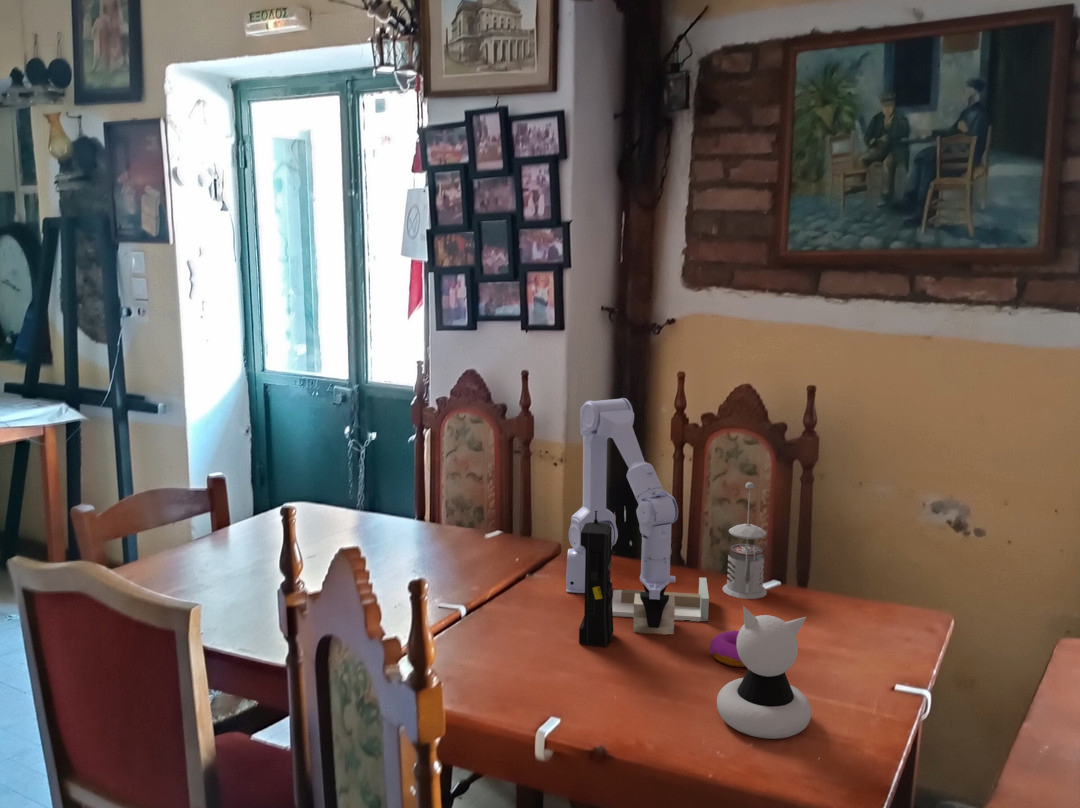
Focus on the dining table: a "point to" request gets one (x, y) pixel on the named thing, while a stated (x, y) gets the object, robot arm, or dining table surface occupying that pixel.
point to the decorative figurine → (765, 681)
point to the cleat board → (630, 609)
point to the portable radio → (597, 584)
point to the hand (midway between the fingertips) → (653, 620)
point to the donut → (726, 649)
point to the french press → (746, 562)
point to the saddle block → (641, 620)
